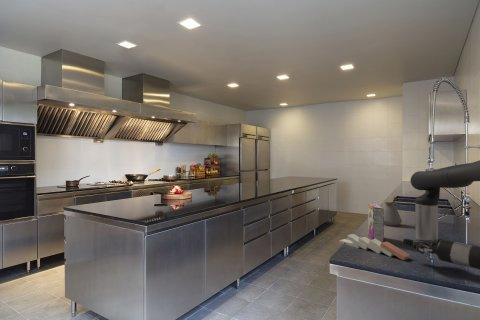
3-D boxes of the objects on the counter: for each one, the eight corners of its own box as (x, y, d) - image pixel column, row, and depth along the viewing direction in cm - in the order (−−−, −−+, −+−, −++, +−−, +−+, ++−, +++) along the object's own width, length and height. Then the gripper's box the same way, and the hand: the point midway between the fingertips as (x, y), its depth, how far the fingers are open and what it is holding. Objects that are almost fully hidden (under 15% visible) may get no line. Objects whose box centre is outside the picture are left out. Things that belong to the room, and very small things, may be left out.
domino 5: (409, 258, 115) (385, 244, 123) (410, 254, 115) (387, 241, 123) (403, 260, 113) (380, 246, 121) (404, 256, 113) (381, 243, 121)
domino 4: (396, 254, 120) (374, 241, 128) (397, 251, 119) (375, 238, 127) (390, 256, 117) (368, 243, 125) (391, 253, 117) (369, 240, 125)
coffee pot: (400, 228, 164) (400, 201, 164) (378, 225, 171) (378, 199, 171) (406, 221, 181) (406, 197, 181) (385, 218, 188) (385, 195, 188)
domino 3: (384, 251, 124) (363, 239, 132) (385, 248, 123) (364, 236, 131) (378, 253, 121) (358, 241, 129) (379, 250, 121) (359, 238, 129)
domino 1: (364, 247, 131) (344, 242, 140) (364, 243, 131) (344, 238, 140) (358, 249, 129) (339, 243, 137) (358, 245, 129) (339, 240, 137)
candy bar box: (367, 235, 149) (367, 203, 149) (377, 236, 148) (377, 204, 148) (372, 242, 138) (372, 207, 138) (384, 242, 137) (384, 207, 137)
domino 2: (371, 248, 128) (352, 236, 136) (372, 245, 128) (353, 233, 136) (365, 250, 126) (346, 238, 134) (366, 246, 125) (347, 235, 133)
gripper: (463, 238, 104) (412, 229, 119) (448, 245, 97) (395, 234, 111) (463, 259, 105) (412, 247, 119) (448, 268, 97) (395, 254, 111)
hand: (404, 241), depth 115 cm, fingers closed
